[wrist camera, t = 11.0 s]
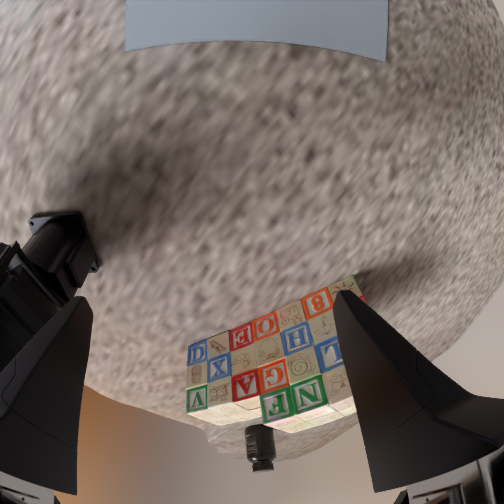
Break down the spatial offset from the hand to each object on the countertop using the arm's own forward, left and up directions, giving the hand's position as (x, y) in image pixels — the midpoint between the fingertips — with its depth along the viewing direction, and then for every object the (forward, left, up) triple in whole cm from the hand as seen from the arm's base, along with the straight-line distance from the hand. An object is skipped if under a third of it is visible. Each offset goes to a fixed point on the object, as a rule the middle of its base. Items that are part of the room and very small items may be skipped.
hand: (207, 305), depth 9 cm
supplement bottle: (+6, -62, -13) cm, 64 cm away
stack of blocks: (+6, -19, -13) cm, 24 cm away
